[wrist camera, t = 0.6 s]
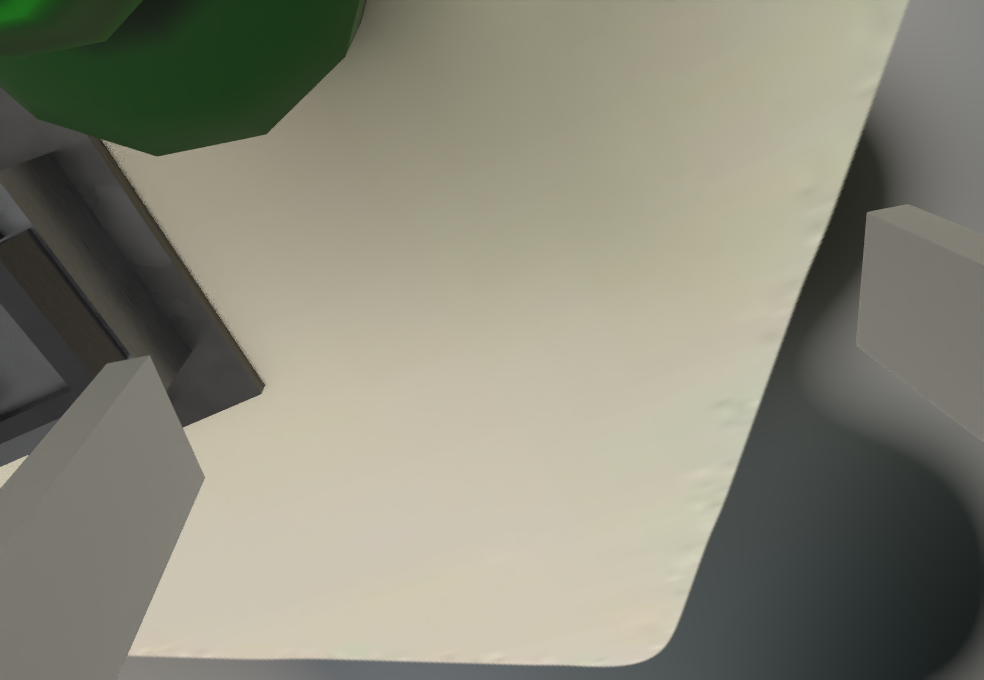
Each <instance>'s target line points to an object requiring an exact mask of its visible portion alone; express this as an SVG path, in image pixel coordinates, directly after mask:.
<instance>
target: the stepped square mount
mask: <svg viewBox="0 0 984 680" xmlns="http://www.w3.org/2000/svg"><path fill="white" fill-rule="evenodd" d="M148 355H150V357H151V359H152V362H153V364H154V366H155V368H156V370H157V373H158V375H159V377H160V379H161V381H162V384H163V386H164V388H165V390H166V392H167V395H168V397H169V399H170V401H171V404H172V406H173V408H174V410H175V412H176V415H177V417H178V419H179V421H180V423H181V426H182V428H183V427H185V426H187V425H190V424H192V423H194V422H197V421H199V420H201V419H204V418H206V417H209V416H211V415H213V414H216V413H218V412H220V411H223V410H225V409H227V408H230V407H232V406H234V405H237V404H239V403H241V402H244V401H246V400H248V399H251V398H253V397H255V396H258V395H260V394H261V393H262V391H263V388H264V386H265V385H264V384H263V382H262V381H261V379H260V378H259V376H258V375H257V373H256V372H255V370H254V369H253V367H252V366H251V364H250V363H249V361H248V360H247V358H246V357H245V356H244V354H243V353H242V351H241V350H240V348H239V347H238V345H237V344H236V342H235V341H234V339H233V338H232V336H231V335H230V333H229V332H228V330H227V329H226V327H225V326H224V324H223V323H222V321H221V320H220V318H219V317H218V315H217V314H216V312H215V311H214V309H213V308H212V306H211V305H210V303H209V302H208V300H207V299H206V297H205V296H204V294H203V293H202V291H201V290H200V288H199V287H198V285H197V284H196V282H195V281H194V279H193V278H192V276H191V275H190V273H189V272H188V270H187V269H186V267H185V266H184V264H183V263H182V261H181V260H180V258H179V257H178V255H177V254H176V252H175V251H174V249H173V248H172V246H171V245H170V243H169V242H168V240H167V239H166V237H165V236H164V234H163V233H162V231H161V230H160V228H159V227H158V225H157V224H156V222H155V221H154V219H153V218H152V216H151V215H150V213H149V212H148V210H147V209H146V207H145V206H144V204H143V203H142V201H141V200H140V198H139V197H138V195H137V194H136V192H135V191H134V189H133V188H132V186H131V185H130V183H129V182H128V180H127V179H126V177H125V176H124V174H123V173H122V171H121V170H120V168H119V167H118V165H117V164H116V163H115V161H114V160H113V158H112V157H111V155H110V154H109V152H108V151H107V149H106V148H105V146H104V145H103V143H102V142H101V140H100V139H99V138H97V137H93V136H90V135H87V134H84V133H80V132H77V131H74V130H71V129H68V128H64V127H61V126H58V125H55V124H51V123H48V122H45V121H42V120H39V119H36V118H35V117H34V116H33V115H32V114H31V113H29V112H28V111H27V110H26V109H25V108H24V107H23V106H21V105H20V104H19V103H18V102H17V101H16V100H14V99H13V98H12V97H11V96H10V95H9V94H8V93H6V92H5V91H4V90H3V89H2V88H1V87H0V467H1V466H3V465H6V464H8V463H10V462H12V461H15V460H17V459H19V458H22V457H24V456H26V455H30V453H31V452H32V451H33V450H34V449H35V448H36V446H37V445H38V444H39V443H40V442H41V441H42V439H43V438H44V437H45V436H46V435H47V433H48V432H49V431H50V430H51V429H52V428H53V426H54V425H55V424H56V423H57V422H58V420H59V419H60V418H61V417H62V416H63V415H64V413H65V412H66V411H67V410H68V409H69V408H70V406H71V405H72V404H73V403H74V402H75V400H76V399H77V398H78V397H79V396H80V395H81V393H82V392H83V391H84V390H85V389H86V388H87V386H88V385H89V384H90V383H91V382H92V380H93V379H94V378H95V377H96V376H97V375H98V373H99V372H100V371H101V370H102V369H103V368H104V366H105V365H106V364H108V363H113V362H118V361H123V360H128V359H133V358H138V357H143V356H148Z"/></svg>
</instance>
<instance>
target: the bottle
mask: <svg viewBox="0 0 984 680" xmlns="http://www.w3.org/2000/svg"><path fill="white" fill-rule="evenodd" d="M365 3H366V0H0V87H1V88H2V89H3V90H4V91H5V92H6V93H8V94H9V95H10V96H11V97H12V98H13V99H14V100H16V101H17V102H18V103H19V104H20V105H21V106H23V107H24V108H25V109H26V110H27V111H28V112H29V113H31V114H32V115H33V116H34V117H35V118H36V119H39V120H42V121H45V122H48V123H51V124H55V125H58V126H61V127H64V128H68V129H71V130H74V131H77V132H80V133H84V134H87V135H90V136H93V137H97V138H100V139H103V140H106V141H109V142H113V143H116V144H119V145H122V146H126V147H129V148H132V149H135V150H138V151H142V152H145V153H148V154H151V155H155V156H162V155H167V154H172V153H176V152H181V151H186V150H191V149H196V148H201V147H206V146H211V145H216V144H221V143H226V142H231V141H236V140H241V139H246V138H250V137H255V136H260V135H265V134H267V133H268V132H269V131H270V130H271V129H272V128H273V127H274V126H275V125H276V124H277V123H278V122H279V121H280V120H281V119H282V118H283V117H284V116H285V115H286V114H287V113H288V112H289V111H290V110H291V109H292V108H293V107H294V106H295V105H296V104H297V103H298V102H299V101H300V100H301V99H303V98H304V97H305V96H306V95H307V94H308V93H309V92H310V91H311V90H312V89H313V88H314V87H315V86H316V85H317V84H318V83H319V82H320V81H321V80H322V79H323V78H324V77H325V76H326V75H327V74H328V73H329V72H330V71H331V70H332V69H333V68H334V67H335V66H336V65H337V64H338V63H339V62H340V61H341V60H342V59H343V58H344V57H345V55H346V53H347V51H348V49H349V47H350V44H351V42H352V40H353V38H354V36H355V34H356V31H357V29H358V27H359V25H360V23H361V19H362V15H363V11H364V7H365Z"/></svg>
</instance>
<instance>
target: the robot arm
mask: <svg viewBox="0 0 984 680" xmlns="http://www.w3.org/2000/svg"><path fill="white" fill-rule="evenodd" d="M856 346H857V347H859V348H860V349H861V350H863V351H864V352H865V353H867V354H868V355H869V356H871V357H872V358H873V359H874V360H876V361H877V362H879V363H880V364H881V365H882V366H884V367H885V368H886V369H888V370H889V371H890V372H892V373H893V374H894V375H895V376H897V377H898V378H899V379H901V380H902V381H903V382H905V383H906V384H907V385H908V386H910V387H911V388H913V389H914V390H915V391H916V392H918V393H919V394H920V395H922V396H923V397H924V398H926V399H927V400H928V401H929V402H931V403H932V404H933V405H935V406H936V407H937V408H939V409H940V410H941V411H943V412H944V413H945V414H946V415H948V416H949V417H950V418H952V419H953V420H954V421H956V422H957V423H958V424H960V425H961V426H962V427H963V428H965V429H966V430H967V431H969V432H970V433H971V434H973V435H974V436H975V437H977V438H978V439H979V440H980V441H982V442H983V443H984V234H981V233H979V232H976V231H974V230H971V229H968V228H966V227H963V226H961V225H958V224H956V223H953V222H951V221H949V220H946V219H944V218H941V217H939V216H936V215H934V214H931V213H929V212H926V211H924V210H921V209H919V208H916V207H913V206H911V205H909V204H907V205H902V206H897V207H892V208H887V209H882V210H876V211H871V212H867V219H866V232H865V243H864V255H863V267H862V279H861V291H860V304H859V315H858V328H857V340H856ZM204 479H205V476H204V474H203V472H202V470H201V468H200V465H199V463H198V461H197V459H196V457H195V454H194V452H193V450H192V448H191V445H190V443H189V441H188V439H187V437H186V434H185V432H184V430H183V428H182V426H181V423H180V421H179V419H178V417H177V415H176V412H175V410H174V408H173V406H172V404H171V401H170V399H169V397H168V395H167V392H166V390H165V388H164V386H163V384H162V381H161V379H160V377H159V375H158V373H157V370H156V368H155V366H154V364H153V362H152V359H151V357H150V355H148V356H143V357H138V358H133V359H128V360H123V361H118V362H113V363H108V364H106V365H105V366H104V368H103V369H102V370H101V371H100V372H99V373H98V375H97V376H96V377H95V378H94V379H93V380H92V382H91V383H90V384H89V385H88V386H87V388H86V389H85V390H84V391H83V392H82V393H81V395H80V396H79V397H78V398H77V399H76V400H75V402H74V403H73V404H72V405H71V406H70V408H69V409H68V410H67V411H66V412H65V413H64V415H63V416H62V417H61V418H60V419H59V420H58V422H57V423H56V424H55V425H54V426H53V428H52V429H51V430H50V431H49V432H48V433H47V435H46V436H45V437H44V438H43V439H42V441H41V442H40V443H39V444H38V445H37V446H36V448H35V449H34V450H33V451H32V452H31V453H30V455H29V456H28V457H27V458H26V459H25V461H24V462H23V463H22V464H21V465H20V466H19V468H18V469H17V470H16V471H15V472H14V473H13V475H12V476H11V477H10V478H9V479H8V481H7V482H6V483H5V484H4V485H3V486H2V488H1V489H0V680H117V678H118V675H119V673H120V671H121V669H122V666H123V664H124V661H125V659H126V657H127V655H128V652H129V650H130V648H131V646H132V643H133V641H134V639H135V636H136V634H137V632H138V630H139V627H140V625H141V623H142V620H143V618H144V616H145V614H146V611H147V609H148V607H149V604H150V602H151V600H152V598H153V595H154V593H155V591H156V588H157V586H158V584H159V582H160V579H161V577H162V575H163V572H164V570H165V568H166V566H167V563H168V561H169V559H170V556H171V554H172V552H173V549H174V547H175V545H176V543H177V540H178V538H179V536H180V533H181V531H182V529H183V527H184V524H185V522H186V520H187V517H188V515H189V513H190V511H191V508H192V506H193V504H194V501H195V499H196V497H197V495H198V492H199V490H200V488H201V485H202V483H203V481H204Z"/></svg>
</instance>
